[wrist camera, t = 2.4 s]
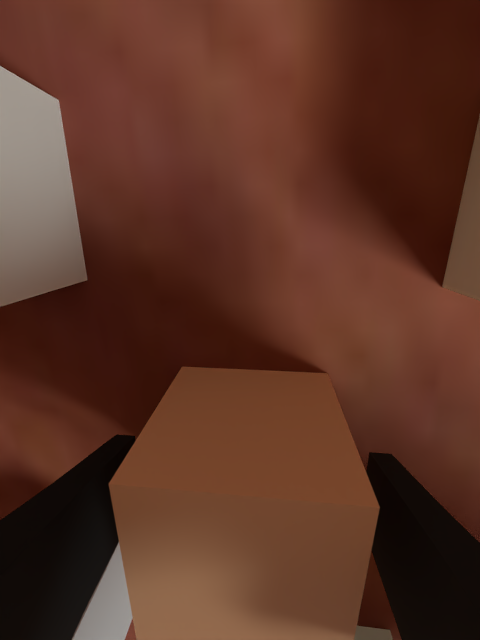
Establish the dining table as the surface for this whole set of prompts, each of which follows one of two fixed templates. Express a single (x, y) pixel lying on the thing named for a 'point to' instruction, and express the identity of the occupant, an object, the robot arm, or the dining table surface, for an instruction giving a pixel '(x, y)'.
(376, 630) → the sage block
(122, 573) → the grey block
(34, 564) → the robot arm
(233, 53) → the dining table surface
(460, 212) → the maple block
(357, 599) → the terracotta block
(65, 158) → the white block
